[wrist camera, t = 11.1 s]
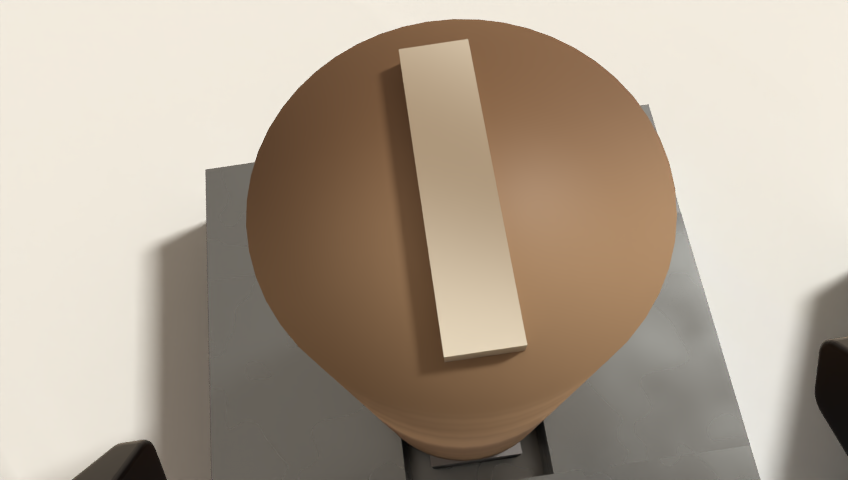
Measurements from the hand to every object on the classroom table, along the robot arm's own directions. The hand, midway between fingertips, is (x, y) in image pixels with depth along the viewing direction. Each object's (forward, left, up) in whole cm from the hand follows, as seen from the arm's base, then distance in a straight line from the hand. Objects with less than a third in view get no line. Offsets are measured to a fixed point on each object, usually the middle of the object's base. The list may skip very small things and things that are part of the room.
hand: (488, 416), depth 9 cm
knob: (+2, +2, -11) cm, 11 cm away
